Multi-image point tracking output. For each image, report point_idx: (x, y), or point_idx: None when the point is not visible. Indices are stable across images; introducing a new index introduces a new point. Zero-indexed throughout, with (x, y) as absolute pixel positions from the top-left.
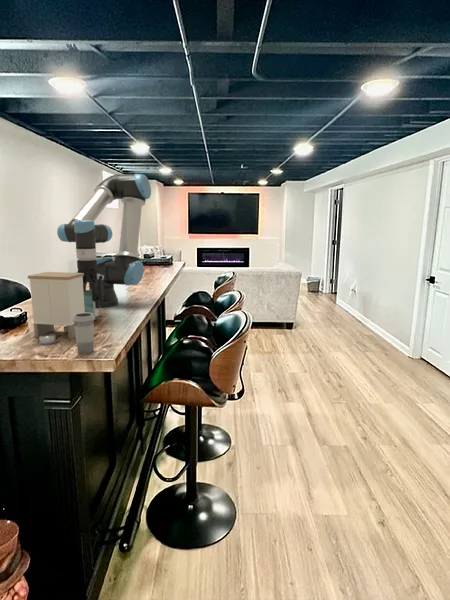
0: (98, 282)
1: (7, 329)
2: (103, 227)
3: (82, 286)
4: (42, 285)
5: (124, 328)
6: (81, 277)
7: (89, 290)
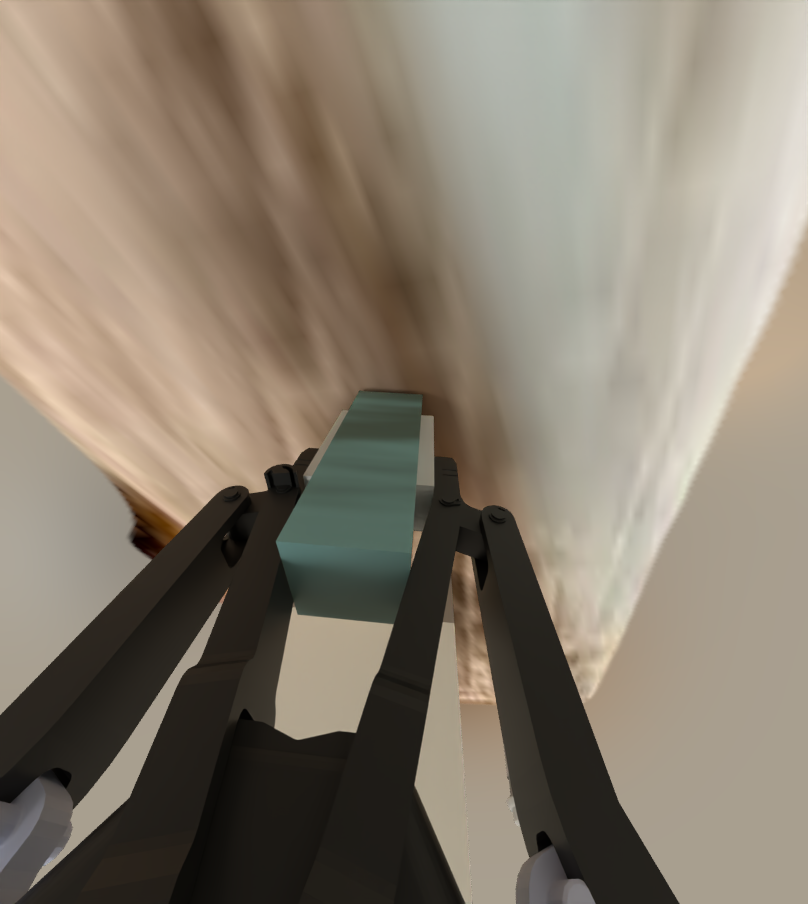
0: (521, 791)
1: (154, 557)
2: None
3: (470, 892)
4: None
5: (613, 529)
6: None
7: (332, 563)
